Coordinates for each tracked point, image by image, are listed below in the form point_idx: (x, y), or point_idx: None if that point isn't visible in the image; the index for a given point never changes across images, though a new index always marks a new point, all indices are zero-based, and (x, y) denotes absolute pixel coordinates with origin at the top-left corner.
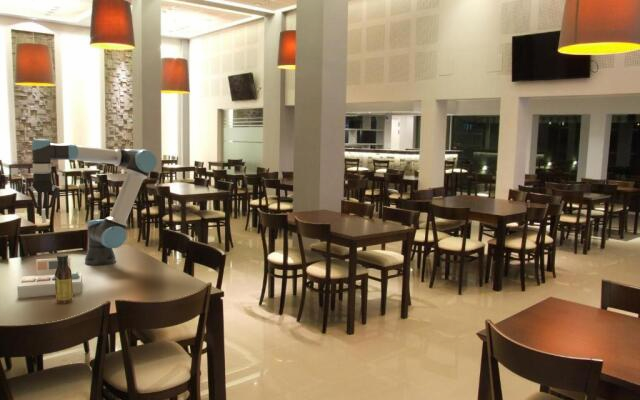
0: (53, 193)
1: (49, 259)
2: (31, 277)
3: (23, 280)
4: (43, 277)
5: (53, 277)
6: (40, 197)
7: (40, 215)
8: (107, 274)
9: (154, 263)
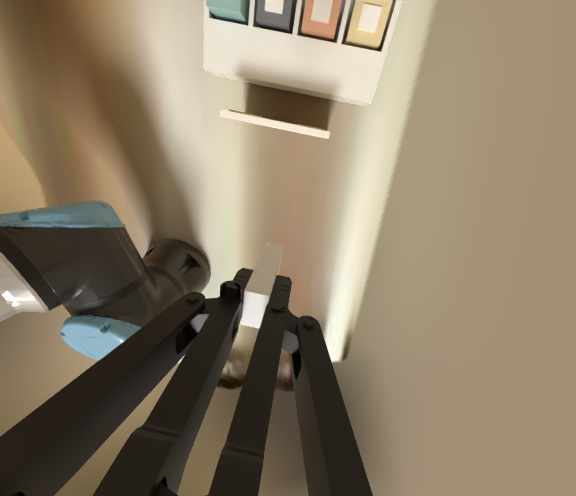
0: (42, 429)
1: (286, 123)
2: (351, 71)
3: (387, 10)
4: (321, 18)
5: (290, 7)
6: (246, 403)
7: (284, 278)
8: (157, 143)
9: (60, 199)
